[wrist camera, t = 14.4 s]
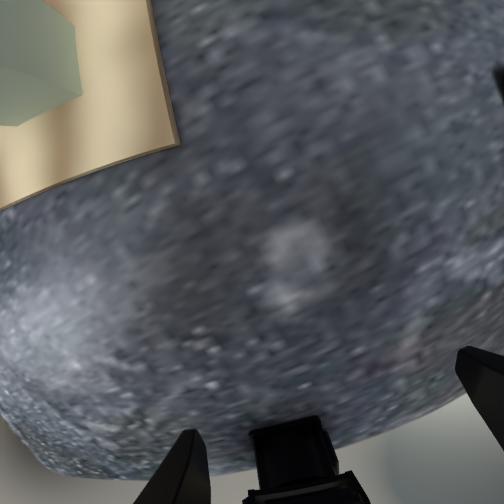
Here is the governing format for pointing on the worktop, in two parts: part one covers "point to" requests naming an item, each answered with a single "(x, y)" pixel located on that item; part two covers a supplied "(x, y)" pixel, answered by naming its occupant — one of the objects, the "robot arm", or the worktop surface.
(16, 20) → the sage block
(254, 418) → the worktop surface
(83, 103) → the birch base
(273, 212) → the worktop surface
